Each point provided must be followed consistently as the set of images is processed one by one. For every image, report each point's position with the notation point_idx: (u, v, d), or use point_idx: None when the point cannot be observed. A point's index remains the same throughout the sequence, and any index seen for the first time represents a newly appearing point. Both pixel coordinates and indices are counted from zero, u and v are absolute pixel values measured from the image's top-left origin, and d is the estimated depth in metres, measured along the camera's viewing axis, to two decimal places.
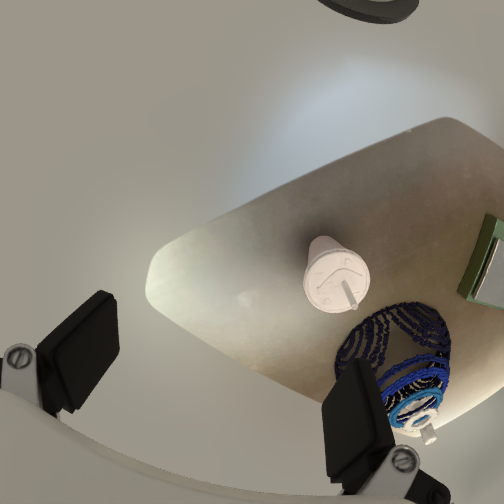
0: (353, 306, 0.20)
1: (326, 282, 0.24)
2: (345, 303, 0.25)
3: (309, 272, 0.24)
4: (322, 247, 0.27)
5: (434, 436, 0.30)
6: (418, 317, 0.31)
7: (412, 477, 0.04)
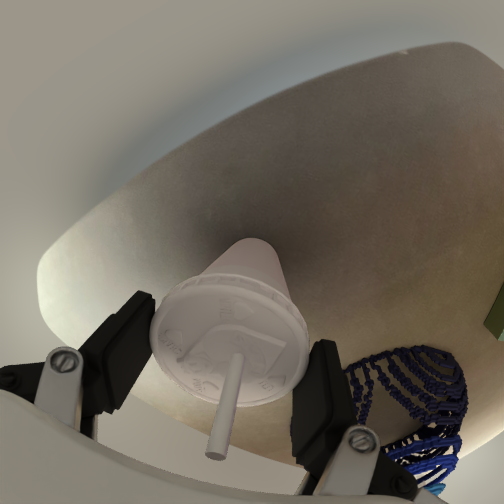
0: (212, 452, 0.06)
1: (194, 352, 0.10)
2: (252, 393, 0.10)
3: (152, 327, 0.10)
4: (212, 264, 0.12)
5: None
6: (423, 375, 0.17)
7: (375, 456, 0.05)
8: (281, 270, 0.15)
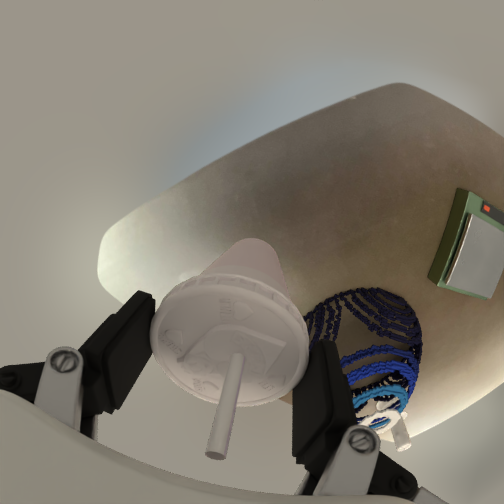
0: (212, 452, 0.06)
1: (194, 352, 0.10)
2: (252, 393, 0.10)
3: (152, 327, 0.10)
4: (212, 265, 0.12)
5: (408, 442, 0.29)
6: (376, 303, 0.30)
7: (374, 456, 0.05)
8: (281, 270, 0.15)
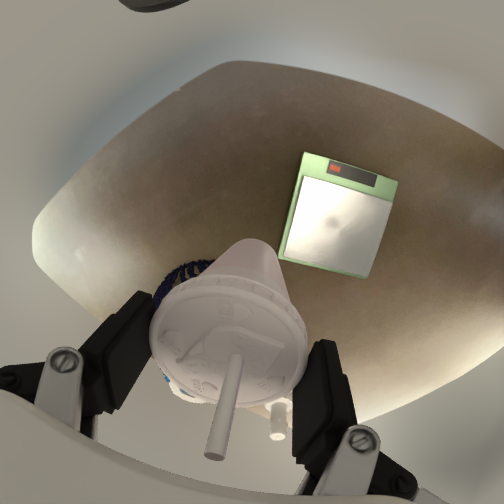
0: (211, 453, 0.06)
1: (193, 353, 0.10)
2: (251, 394, 0.10)
3: (151, 328, 0.10)
4: (212, 265, 0.12)
5: (279, 431, 0.33)
6: None
7: (374, 456, 0.05)
8: (280, 271, 0.15)
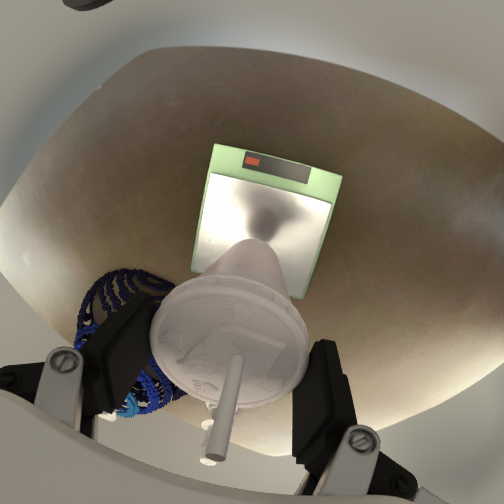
0: (212, 453, 0.06)
1: (194, 354, 0.10)
2: (252, 394, 0.10)
3: (152, 328, 0.10)
4: (212, 266, 0.12)
5: None
6: (120, 284, 0.29)
7: (375, 456, 0.05)
8: (281, 271, 0.15)
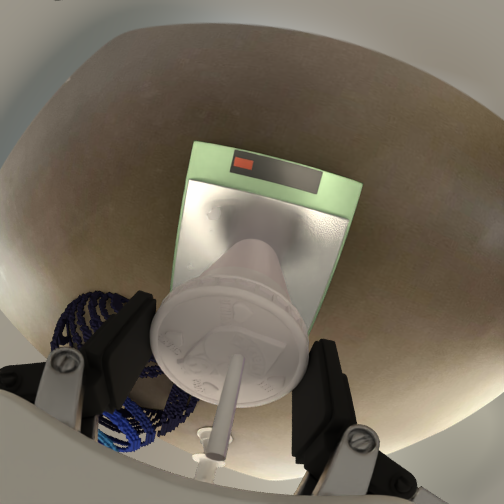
0: (212, 453, 0.06)
1: (194, 353, 0.10)
2: (252, 394, 0.10)
3: (152, 328, 0.10)
4: (212, 266, 0.12)
5: None
6: (92, 312, 0.23)
7: (374, 456, 0.05)
8: (281, 271, 0.15)
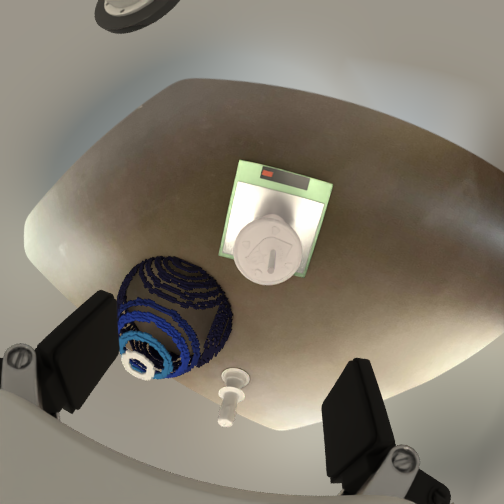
0: (269, 270, 0.21)
1: (254, 251, 0.25)
2: (277, 275, 0.25)
3: (236, 241, 0.25)
4: None
5: (226, 418, 0.36)
6: (159, 267, 0.38)
7: (412, 477, 0.04)
8: None
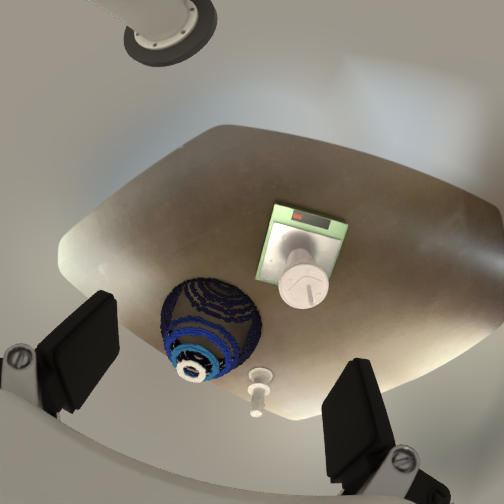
0: (310, 303, 0.29)
1: (294, 286, 0.33)
2: None
3: (282, 278, 0.33)
4: (294, 259, 0.36)
5: (257, 409, 0.45)
6: (203, 288, 0.46)
7: (412, 477, 0.04)
8: None
